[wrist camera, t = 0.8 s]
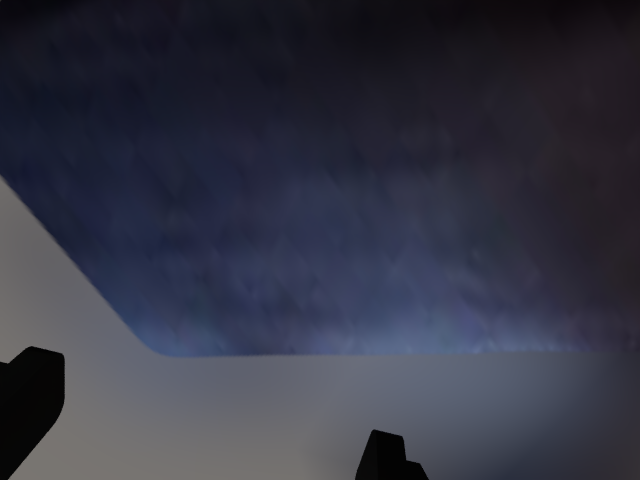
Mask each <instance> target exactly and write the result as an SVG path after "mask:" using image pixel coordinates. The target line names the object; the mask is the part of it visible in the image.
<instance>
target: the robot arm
mask: <svg viewBox="0 0 640 480" xmlns="http://www.w3.org/2000/svg"><path fill="white" fill-rule="evenodd" d="M64 373H65V359H64V355H63V354H62V353H58V352H54V351H49V350H46V349H41V348H37V347H33V346H31V347H28V348H26V349H25V350H23V351H22V352H21V353H20V354H19V355H18V356H16V357H15V358H14V359H13V360H12V361H11V362H10V363H8V364H7V363H3V362H0V480H8V479H9V478H10V476H11V475H12V474H13V473H14V472H15V471H16V469H17V468H18V467H19V466H20V465H21V463H22V462H23V461H24V460H25V459H26V457H27V456H28V455H29V454H30V453H31V451H32V450H33V449H34V448H35V447H36V445H37V444H38V443H39V442H40V441H41V439H42V438H43V437H44V436H45V434H46V433H47V432H48V431H49V430H50V428H51V427H52V426H53V425H54V423H55V422H56V420H57V419H58V417H59V415H60V413H61V411H62V408H63V405H64V399H65V394H64V393H65V374H64ZM355 480H429V479H428V477H427V476H426V474H425V472H424V470H423V468H422V466H421V465H420V463H416V462H411V461H407V460H406V455H405V447H404V440H403V437H402V436H399V435H394V434H391V433H387V432H383V431H378V430H372V432H371V434H370V437H369V440H368V442H367V445H366V448H365V450H364V453H363V456H362V459H361V461H360V464H359V467H358V469H357V473H356V477H355Z"/></svg>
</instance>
